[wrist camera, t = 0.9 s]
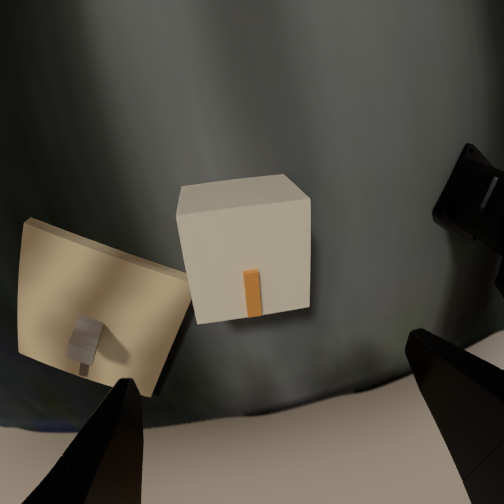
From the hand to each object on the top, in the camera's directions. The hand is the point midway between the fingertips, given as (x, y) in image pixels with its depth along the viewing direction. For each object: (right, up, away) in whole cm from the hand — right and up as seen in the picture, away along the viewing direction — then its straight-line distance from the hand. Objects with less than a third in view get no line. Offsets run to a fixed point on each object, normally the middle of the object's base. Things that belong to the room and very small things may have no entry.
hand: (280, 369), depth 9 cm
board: (-12, -1, +12) cm, 17 cm away
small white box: (-2, +5, +11) cm, 12 cm away
